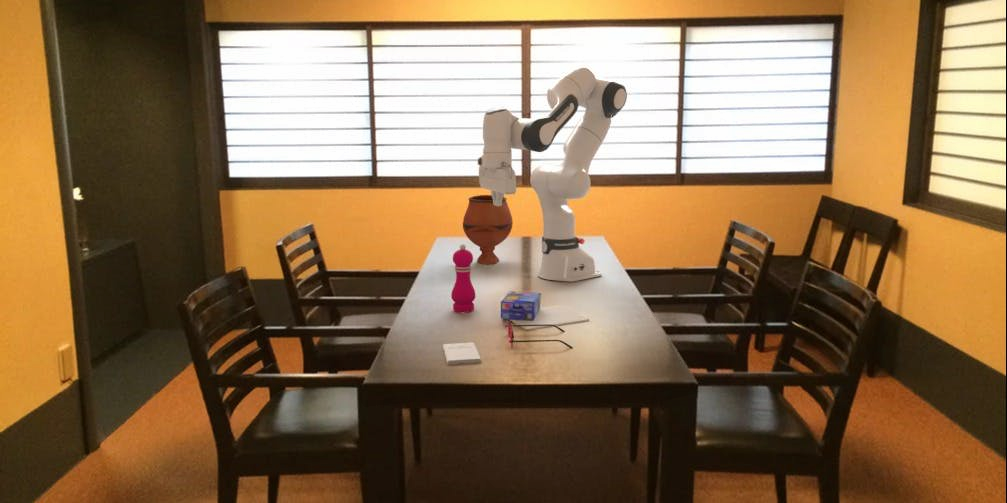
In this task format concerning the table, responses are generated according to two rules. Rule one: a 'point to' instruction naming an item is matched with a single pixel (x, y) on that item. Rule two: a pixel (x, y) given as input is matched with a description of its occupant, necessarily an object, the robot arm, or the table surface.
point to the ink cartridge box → (520, 305)
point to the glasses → (511, 335)
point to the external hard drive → (461, 353)
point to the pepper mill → (463, 281)
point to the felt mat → (552, 317)
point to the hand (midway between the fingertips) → (497, 205)
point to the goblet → (487, 225)
